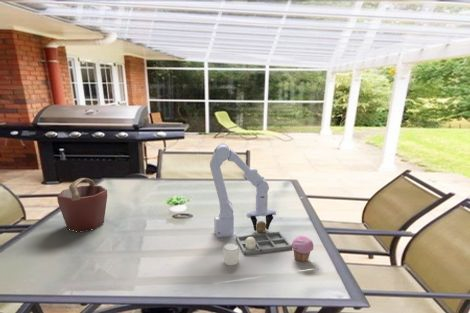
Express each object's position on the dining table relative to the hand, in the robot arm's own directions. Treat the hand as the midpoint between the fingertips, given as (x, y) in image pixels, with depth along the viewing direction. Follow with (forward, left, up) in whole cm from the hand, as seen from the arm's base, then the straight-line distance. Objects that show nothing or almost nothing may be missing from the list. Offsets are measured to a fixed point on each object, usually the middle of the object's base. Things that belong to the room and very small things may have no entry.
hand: (261, 229), depth 154 cm
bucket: (-87, +30, -2) cm, 92 cm away
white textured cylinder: (-21, -24, -2) cm, 32 cm away
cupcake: (+8, -29, -2) cm, 30 cm away
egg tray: (-3, -13, -1) cm, 14 cm away
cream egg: (-10, -16, -1) cm, 20 cm away
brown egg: (0, 0, -2) cm, 2 cm away
